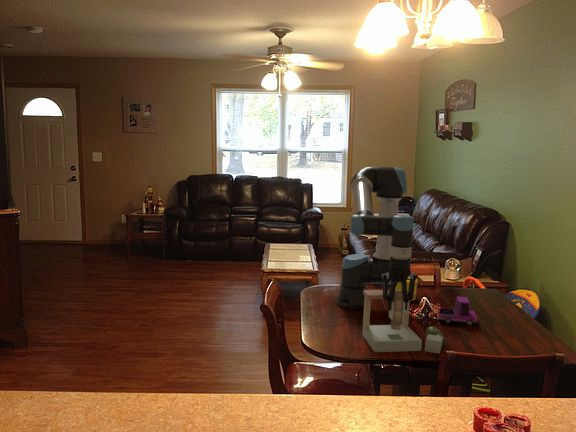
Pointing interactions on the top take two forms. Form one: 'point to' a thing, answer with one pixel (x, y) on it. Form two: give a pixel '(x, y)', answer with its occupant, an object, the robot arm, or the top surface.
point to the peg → (397, 310)
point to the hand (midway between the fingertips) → (396, 317)
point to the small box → (433, 343)
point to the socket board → (391, 338)
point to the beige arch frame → (379, 295)
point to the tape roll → (398, 286)
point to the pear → (435, 333)
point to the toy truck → (458, 312)
